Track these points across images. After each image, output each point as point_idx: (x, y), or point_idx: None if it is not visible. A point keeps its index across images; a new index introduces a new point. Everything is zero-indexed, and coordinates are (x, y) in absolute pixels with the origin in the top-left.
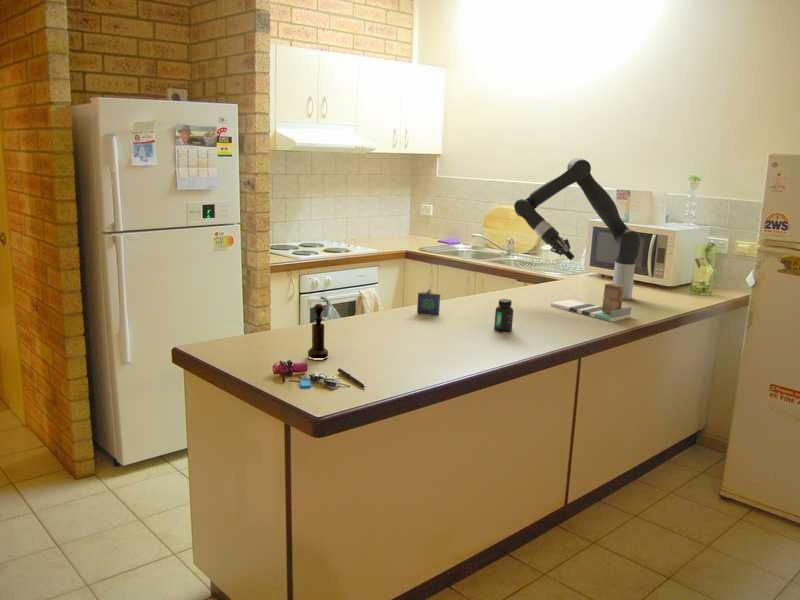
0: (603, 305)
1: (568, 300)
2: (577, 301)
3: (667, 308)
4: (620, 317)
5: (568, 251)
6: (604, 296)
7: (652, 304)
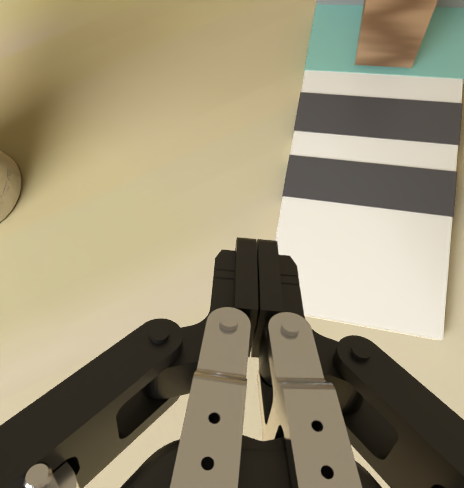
0: (421, 40)
1: None
2: None
3: (49, 3)
4: None
5: (262, 306)
6: (435, 3)
7: (20, 61)
